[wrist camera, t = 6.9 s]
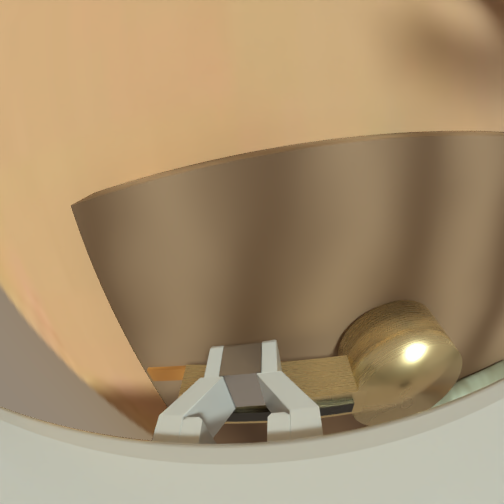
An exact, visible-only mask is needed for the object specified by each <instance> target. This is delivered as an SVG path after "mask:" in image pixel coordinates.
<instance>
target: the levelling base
mask: <svg viewBox="0 0 504 504" xmlns="http://www.w3.org/2000/svg"><path fill="white" fill-rule="evenodd" d="M71 208H72V211H73V214H74V217H75V220H76V222H77V225H78V228H79V231H80V234H81V236H82V239H83V242H84V244H85V247H86V250H87V252H88V255H89V257H90V260H91V262H92V265H93V267H94V270H95V272H96V274H97V277H98V279H99V281H100V284H101V286H102V288H103V290H104V293H105V295H106V297H107V299H108V301H109V303H110V306H111V308H112V310H113V312H114V314H115V316H116V318H117V320H118V322H119V324H120V326H121V328H122V330H123V332H124V334H125V336H126V338H127V339H128V341H129V343H130V345H131V347H132V349H133V351H134V352H135V354H136V356H137V358H138V360H139V361H140V363H141V365H142V367H143V368H144V370H145V372H146V373H147V375H148V377H149V378H150V380H151V382H152V383H153V385H154V387H155V388H156V390H157V392H158V393H159V395H160V396H161V398H162V399H163V401H164V402H165V404H166V406H167V407H169V406H170V405H171V404H172V403H173V402H174V401H176V400H177V399H178V396H179V392H180V388H181V384H182V380H183V376H184V372H185V368H186V365H207V360H208V356H209V351H210V348H211V347H212V346H225V345H236V344H248V343H256V342H263V341H269V340H276V341H277V345H278V350H279V355H280V361H281V362H285V361H297V360H308V359H318V358H327V357H335V356H338V348H339V345H340V342H341V340H342V338H343V336H344V335H345V333H346V332H347V330H348V329H349V328H350V327H351V326H352V325H353V324H354V323H355V322H356V321H357V320H358V319H359V318H360V317H362V316H363V315H364V314H366V313H367V312H369V311H370V310H372V309H374V308H376V307H378V306H380V305H383V304H386V303H389V302H393V301H398V300H412V301H417V302H419V303H421V304H423V305H425V306H426V307H427V308H428V309H429V310H430V312H431V313H432V314H433V316H434V317H435V318H436V320H437V321H438V323H439V324H440V325H441V327H442V328H443V330H444V331H445V332H446V334H447V335H448V337H449V338H450V340H451V341H452V342H453V344H454V345H455V347H456V348H457V350H458V351H459V353H460V355H461V357H462V369H461V372H460V375H459V377H458V379H457V381H456V383H455V384H454V386H453V387H452V388H451V390H450V391H449V392H448V393H447V394H446V395H445V396H444V397H443V398H442V399H441V400H440V401H439V402H438V403H437V404H435V405H434V406H433V407H436V406H439V405H442V404H445V403H447V402H450V401H452V400H455V399H458V398H460V397H463V396H465V395H467V394H470V393H472V392H474V391H477V390H479V389H481V388H483V387H486V386H488V385H490V384H492V383H494V382H496V381H498V380H500V379H502V378H504V132H489V131H433V132H409V133H393V134H380V135H368V136H358V137H348V138H339V139H331V140H323V141H316V142H309V143H302V144H295V145H289V146H283V147H277V148H271V149H265V150H260V151H255V152H249V153H244V154H239V155H234V156H229V157H225V158H220V159H216V160H211V161H207V162H202V163H198V164H194V165H190V166H186V167H182V168H178V169H174V170H170V171H166V172H162V173H159V174H155V175H151V176H148V177H144V178H141V179H137V180H134V181H131V182H127V183H124V184H121V185H117V186H114V187H111V188H108V189H105V190H102V191H99V192H96V193H93V194H91V195H89V196H88V197H86V198H84V199H82V200H80V201H78V202H77V203H75V204H73V205H71ZM433 407H431V408H433ZM321 423H322V430H323V435H327V434H333V433H338V432H344V431H349V430H354V429H358V428H363V427H367V426H368V425H364V424H362V423H360V422H358V421H357V420H356V419H355V418H354V416H353V414H346V415H340V416H333V417H325V418H321ZM213 439H214V440H215V442H216V444H234V443H256V442H267V423H240V424H224V425H223V426H222V427H221V428H220V430H219V431H218V432H217V434H216V435H215V436H214V438H213Z"/></svg>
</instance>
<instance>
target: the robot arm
mask: <svg viewBox="0 0 504 504" xmlns="http://www.w3.org/2000/svg"><path fill="white" fill-rule="evenodd" d="M259 405H266V407H267V408H268V409H269V411H270V412H271V414H270V415H269V416H268V423H267V442H256V443H234V444H216V442H215V440H214V439H213V438H214V436H215V435H216V434H217V432H218V431H219V430H220V428H221V427H222V426H223V425H224V423H225V422H226V421H227V419H228V418H229V417H230V415H231V414H232V413H233V411H234V410H235V407H245V406H259ZM0 504H504V378H502V379H500V380H498V381H496V382H494V383H492V384H490V385H488V386H486V387H483V388H481V389H479V390H477V391H474V392H472V393H470V394H467V395H465V396H463V397H460V398H458V399H455V400H452V401H450V402H447V403H445V404H442V405H439V406H436V407H433V408H430V409H428V410H425V411H421V412H418V413H415V414H412V415H409V416H405V417H402V418H398V419H395V420H391V421H388V422H384V423H380V424H376V425H372V426H367V427H363V428H358V429H354V430H349V431H344V432H338V433H333V434H327V435H323V430H322V423H321V416H320V409H319V406H318V405H317V404H316V403H315V402H314V401H313V400H312V399H310V398H309V397H308V396H307V395H306V394H305V393H304V392H303V391H302V390H301V389H300V388H299V387H298V386H297V385H296V384H295V383H294V382H293V381H291V380H290V379H289V378H288V377H287V376H286V375H285V374H284V373H283V372H282V368H281V361H280V355H279V350H278V345H277V341H276V340H269V341H263V342H256V343H248V344H236V345H225V346H212V347H211V348H210V351H209V356H208V360H207V365H206V370H205V374H204V378H199V379H198V380H197V381H196V382H195V383H194V384H193V385H192V386H191V387H190V388H189V389H188V390H186V391H185V392H184V393H183V394H182V395H181V396H180V397H179V398H178V399H177V400H176V401H174V402H173V403H172V404H171V405H170V406H169V407H168V408H167V409H166V410H164V411H163V412H162V413H161V414H160V415H159V418H158V421H157V424H156V428H155V431H154V434H153V438H152V441H149V440H140V439H130V438H124V437H117V436H110V435H104V434H98V433H93V432H88V431H83V430H79V429H74V428H70V427H65V426H61V425H57V424H54V423H50V422H46V421H42V420H39V419H35V418H32V417H29V416H26V415H23V414H20V413H17V412H14V411H11V410H9V409H6V408H3V407H0Z"/></svg>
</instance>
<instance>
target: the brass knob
mask: <svg viewBox="0 0 504 504" xmlns="http://www.w3.org/2000/svg"><path fill="white" fill-rule="evenodd" d="M281 368H282V372H283V373H284V374H285V375H286V376H287V377H288V378H289V379H290V380H291V381H293V382H294V383H295V384H296V385H297V386H298V387H299V388H300V389H301V390H302V391H303V392H304V393H305V394H306V395H307V396H308V397H309V398H310V399H312V400H313V401H314V402H315V403H316V404H317V405H318V406H319V409H320V416H321V418H325V417H333V416H340V415H346V414H353V416H354V418H355V419H356V420H357V421H358V422H360V423H362V424H364V425H368V426H372V425H376V424H380V423H384V422H388V421H391V420H395V419H398V418H402V417H405V416H409V415H412V414H415V413H418V412H421V411H425V410H428V409H430V408H431V407H433V406H434V405H435V404H437V403H438V402H439V401H440V400H441V399H442V398H443V397H444V396H445V395H446V394H447V393H448V392H449V391H450V390H451V388H452V387H453V386H454V384H455V383H456V381H457V379H458V377H459V375H460V372H461V369H462V357H461V355H460V353H459V351H458V350H457V348H456V347H455V345H454V344H453V342H452V341H451V340H450V338H449V337H448V335H447V334H446V332H445V331H444V330H443V328H442V327H441V325H440V324H439V323H438V321H437V320H436V318H435V317H434V316H433V314H432V313H431V312H430V310H429V309H428V308H427V307H426V306H425V305H423V304H421V303H419V302H417V301H412V300H398V301H393V302H389V303H386V304H383V305H380V306H378V307H376V308H374V309H372V310H370V311H369V312H367V313H366V314H364V315H363V316H362V317H360V318H359V319H358V320H357V321H356V322H355V323H354V324H353V325H352V326H351V327H350V328H349V329H348V330H347V332H346V333H345V335H344V336H343V338H342V340H341V342H340V345H339V348H338V356H335V357H327V358H318V359H308V360H297V361H285V362H281ZM205 370H206V365H186V368H185V372H184V376H183V380H182V384H181V388H180V392H179V396H178V398H179V397H180V396H181V395H182V394H183V393H184V392H185V391H186V390H188V389H189V388H190V387H191V386H192V385H193V384H194V383H195V382H196V381H197V380H198V379H199V378H204V374H205ZM270 414H271V412H270V411H269V409H268V408H267V407H266V405H259V406H245V407H235V410H234V411H233V413H232V414H231V415H230V417H229V418H228V419H227V421H226V422H225V423H224V424H240V423H268V416H269V415H270Z"/></svg>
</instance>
